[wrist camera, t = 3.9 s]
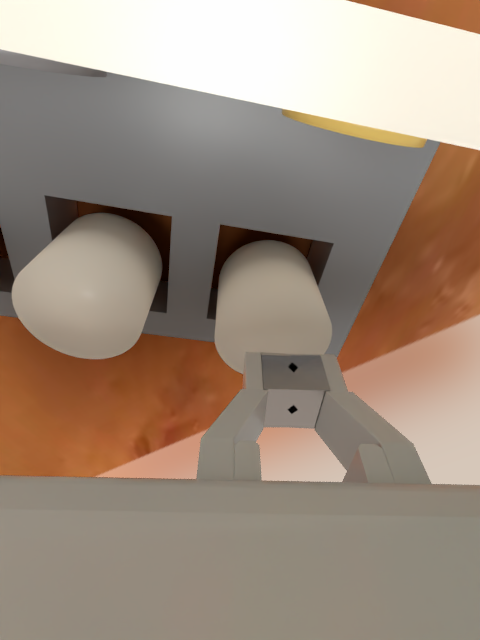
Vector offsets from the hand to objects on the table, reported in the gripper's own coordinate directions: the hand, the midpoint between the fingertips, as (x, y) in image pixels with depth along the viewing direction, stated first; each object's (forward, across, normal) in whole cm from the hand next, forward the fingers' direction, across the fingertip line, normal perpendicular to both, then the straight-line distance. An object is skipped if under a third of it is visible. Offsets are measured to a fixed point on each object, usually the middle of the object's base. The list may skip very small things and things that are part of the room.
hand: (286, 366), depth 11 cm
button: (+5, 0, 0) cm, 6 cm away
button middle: (+5, +7, -1) cm, 9 cm away
